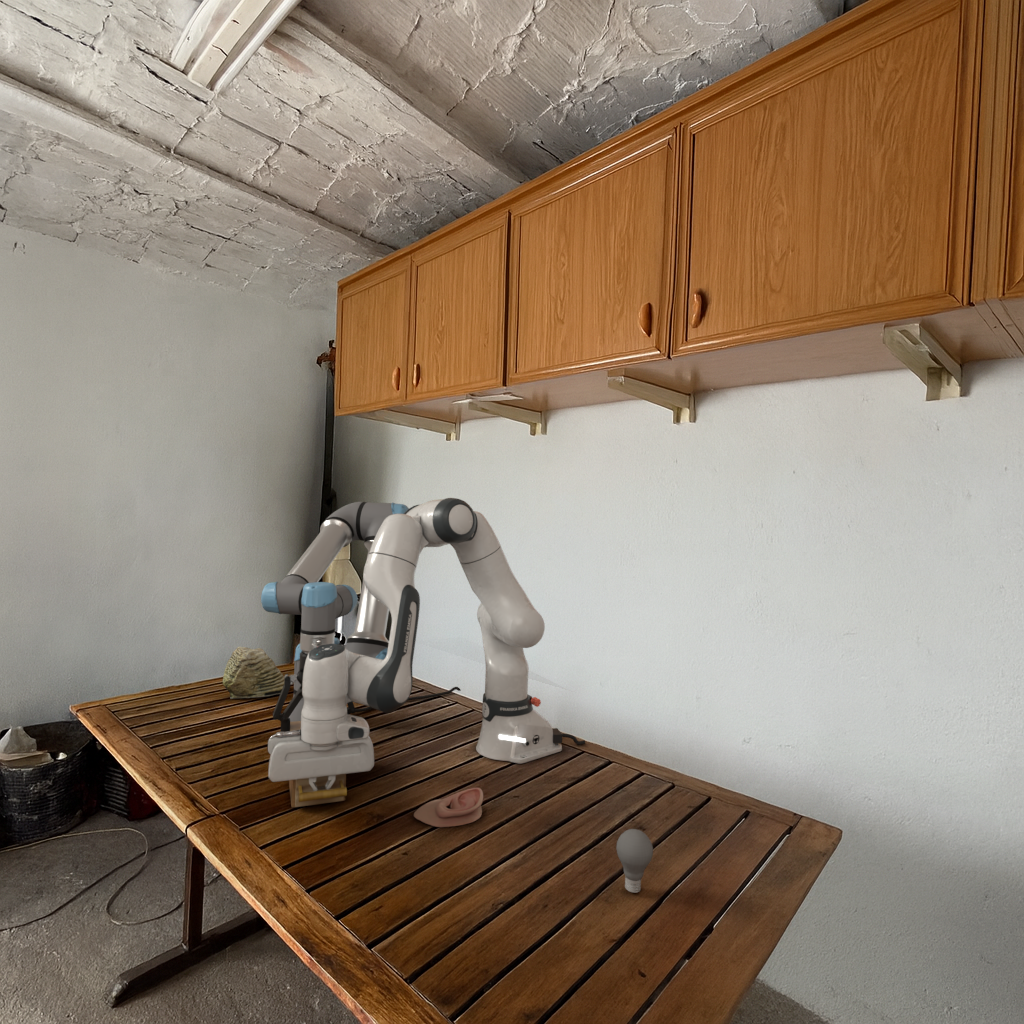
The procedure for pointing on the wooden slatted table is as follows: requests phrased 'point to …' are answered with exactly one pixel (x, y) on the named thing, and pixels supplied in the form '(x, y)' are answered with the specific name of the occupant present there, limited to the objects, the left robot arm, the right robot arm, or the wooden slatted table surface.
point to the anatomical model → (452, 809)
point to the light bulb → (634, 857)
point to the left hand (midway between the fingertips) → (313, 746)
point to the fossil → (252, 674)
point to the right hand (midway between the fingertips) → (321, 796)
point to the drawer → (311, 797)
